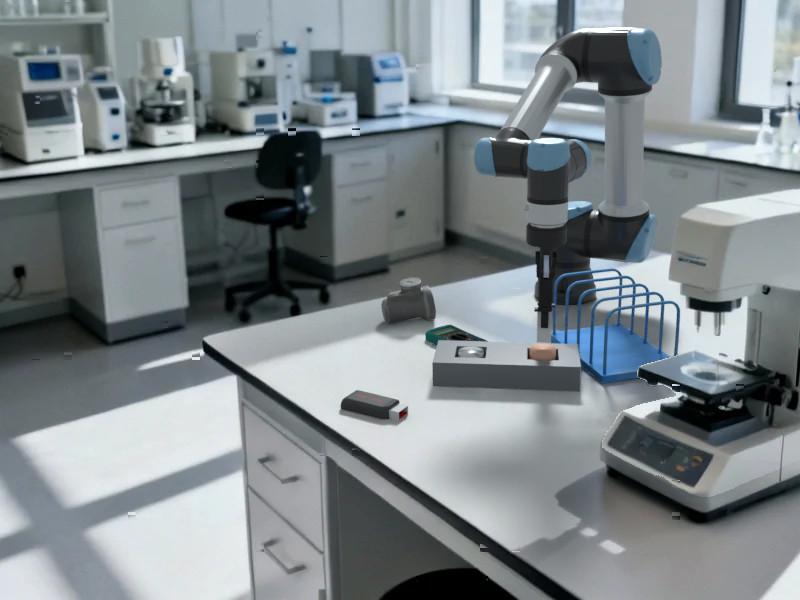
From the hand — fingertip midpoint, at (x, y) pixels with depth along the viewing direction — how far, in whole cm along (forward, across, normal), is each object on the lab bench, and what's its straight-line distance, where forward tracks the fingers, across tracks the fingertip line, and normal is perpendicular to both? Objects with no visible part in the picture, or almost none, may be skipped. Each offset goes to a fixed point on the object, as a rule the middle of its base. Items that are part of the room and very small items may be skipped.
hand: (543, 341), depth 179 cm
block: (+8, 0, -7) cm, 10 cm away
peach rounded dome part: (+5, 0, 0) cm, 5 cm away
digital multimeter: (+8, -16, -18) cm, 25 cm away
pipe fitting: (+8, -31, -31) cm, 44 cm away
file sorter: (+8, -13, +14) cm, 21 cm away
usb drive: (+8, +18, -30) cm, 36 cm away
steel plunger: (+6, 0, -14) cm, 16 cm away
